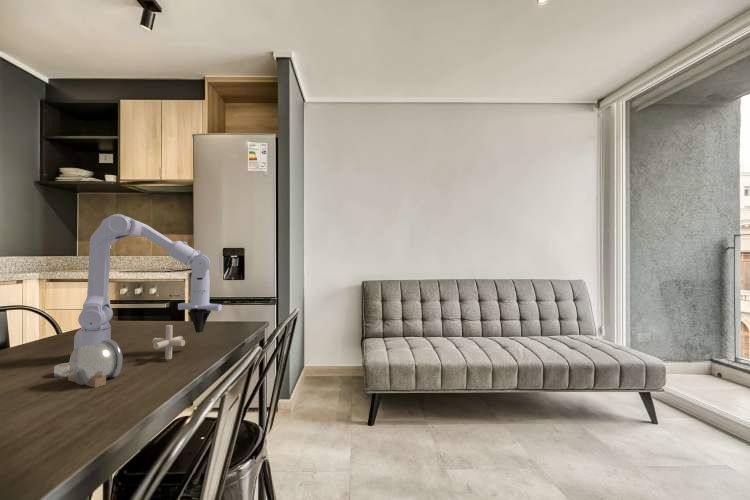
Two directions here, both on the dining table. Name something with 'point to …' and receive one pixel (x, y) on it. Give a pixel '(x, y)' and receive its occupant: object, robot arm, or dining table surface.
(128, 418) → the dining table surface
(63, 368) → the foil tape roll
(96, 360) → the duct stub
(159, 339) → the pipe connector
